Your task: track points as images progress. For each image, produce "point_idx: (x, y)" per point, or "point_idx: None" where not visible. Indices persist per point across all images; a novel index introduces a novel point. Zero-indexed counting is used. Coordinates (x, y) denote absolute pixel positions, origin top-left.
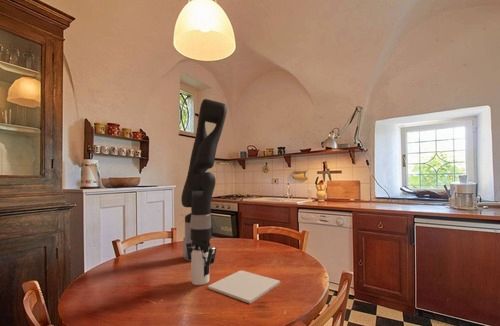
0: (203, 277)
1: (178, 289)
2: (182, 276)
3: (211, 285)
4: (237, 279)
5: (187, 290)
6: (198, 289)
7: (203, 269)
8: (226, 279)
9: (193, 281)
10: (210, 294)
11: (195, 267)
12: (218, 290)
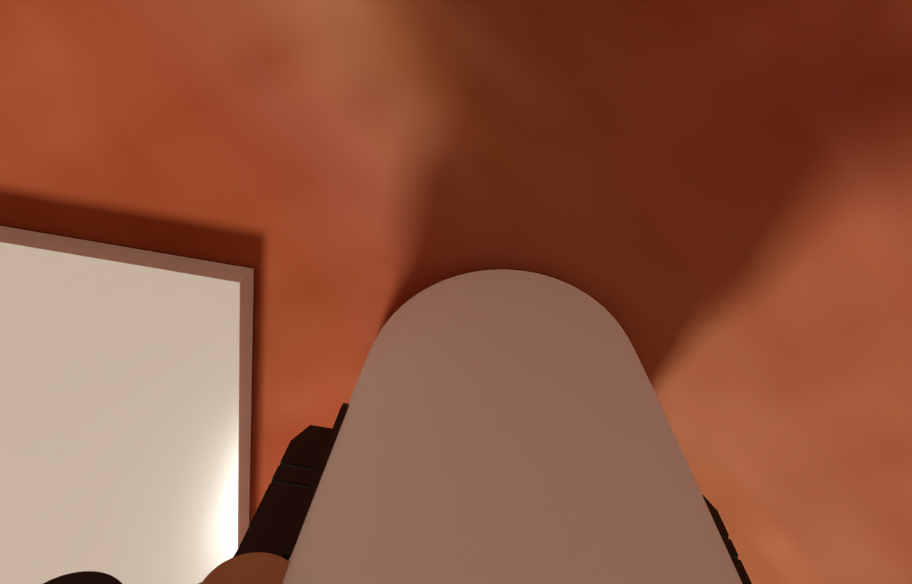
0: (360, 383)
1: (669, 14)
2: (900, 438)
3: (202, 313)
4: None
5: (489, 60)
6: (351, 176)
7: (322, 486)
8: (179, 536)
9: (532, 286)
10: (66, 117)
11: (484, 443)
12: (17, 239)
